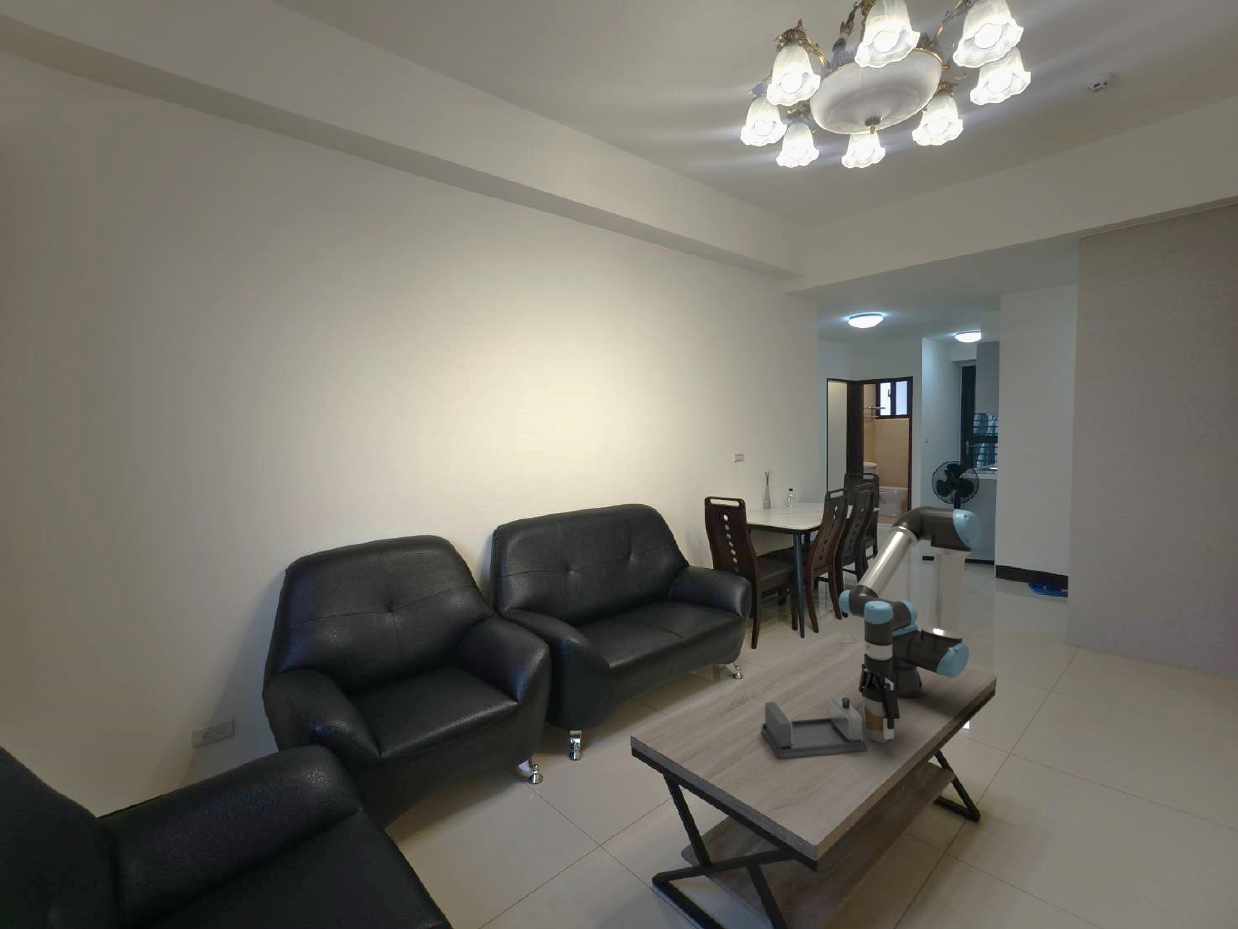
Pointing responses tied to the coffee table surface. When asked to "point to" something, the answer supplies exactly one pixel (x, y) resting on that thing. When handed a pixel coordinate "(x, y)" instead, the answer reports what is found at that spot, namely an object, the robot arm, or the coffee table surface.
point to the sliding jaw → (846, 718)
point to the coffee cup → (873, 713)
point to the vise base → (804, 736)
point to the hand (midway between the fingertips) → (878, 728)
